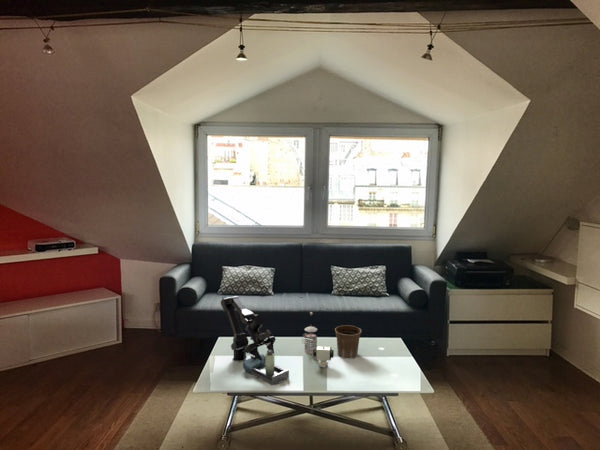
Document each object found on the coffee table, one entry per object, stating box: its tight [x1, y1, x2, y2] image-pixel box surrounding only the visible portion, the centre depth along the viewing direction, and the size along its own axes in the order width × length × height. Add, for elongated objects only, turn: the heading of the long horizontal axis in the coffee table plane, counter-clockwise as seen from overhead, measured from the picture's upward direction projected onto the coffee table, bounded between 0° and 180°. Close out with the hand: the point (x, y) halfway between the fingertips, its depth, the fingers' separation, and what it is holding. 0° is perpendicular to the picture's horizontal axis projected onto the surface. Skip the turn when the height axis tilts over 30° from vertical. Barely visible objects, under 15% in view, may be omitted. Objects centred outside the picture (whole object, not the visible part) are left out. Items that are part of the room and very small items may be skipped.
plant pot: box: [334, 325, 362, 360], centre depth 272 cm, size 16×16×16 cm
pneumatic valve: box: [312, 345, 335, 368], centre depth 256 cm, size 6×12×12 cm, turn 83°
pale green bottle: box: [265, 349, 275, 375], centre depth 242 cm, size 5×5×12 cm
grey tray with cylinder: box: [242, 353, 290, 386], centre depth 245 cm, size 25×12×8 cm, turn 46°
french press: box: [301, 311, 318, 355], centre depth 277 cm, size 10×12×25 cm
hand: (267, 358), depth 243 cm, fingers open, 9 cm apart
